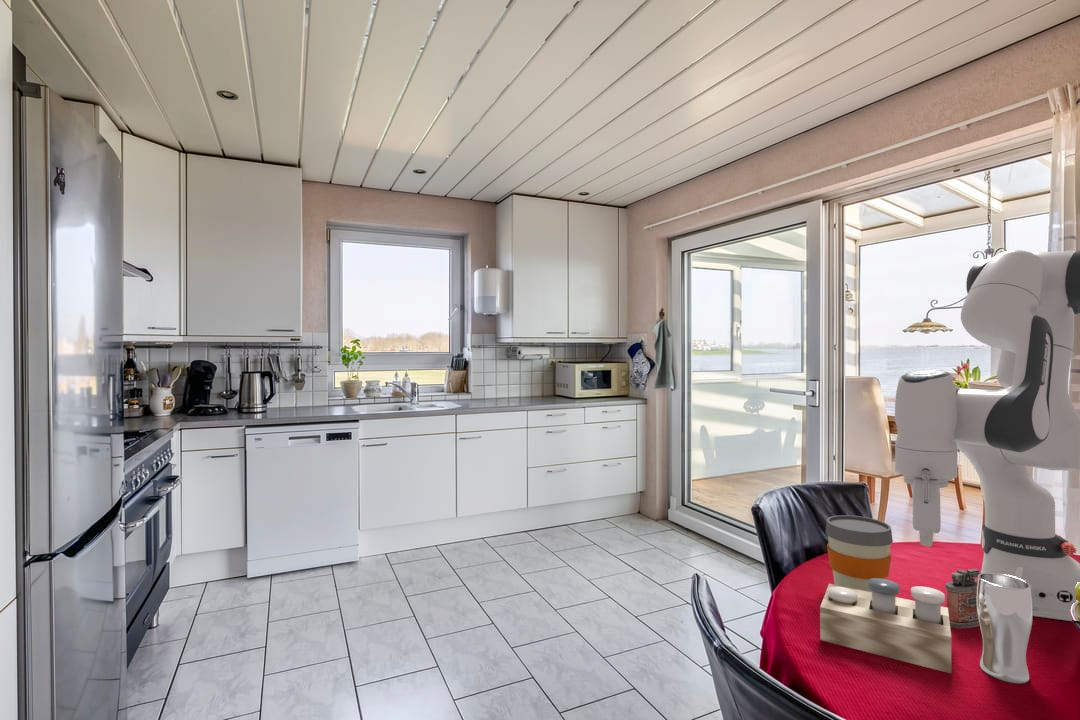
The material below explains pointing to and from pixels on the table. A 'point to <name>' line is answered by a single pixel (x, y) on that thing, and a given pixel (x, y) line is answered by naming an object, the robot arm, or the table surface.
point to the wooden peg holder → (887, 631)
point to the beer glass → (1004, 625)
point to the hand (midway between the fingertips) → (926, 543)
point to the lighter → (962, 599)
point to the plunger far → (842, 595)
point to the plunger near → (928, 604)
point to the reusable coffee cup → (858, 550)
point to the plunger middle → (883, 595)
